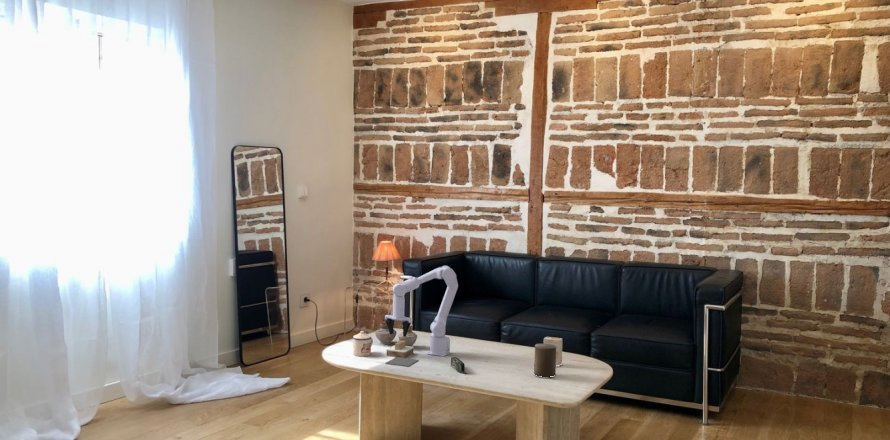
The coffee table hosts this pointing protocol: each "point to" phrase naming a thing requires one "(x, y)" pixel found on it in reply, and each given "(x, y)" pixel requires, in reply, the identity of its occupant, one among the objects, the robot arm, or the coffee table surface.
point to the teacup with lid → (362, 344)
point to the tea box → (400, 353)
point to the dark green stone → (458, 364)
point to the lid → (400, 347)
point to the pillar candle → (545, 360)
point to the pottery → (386, 337)
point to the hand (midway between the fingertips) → (398, 335)
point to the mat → (402, 361)
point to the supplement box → (558, 344)
